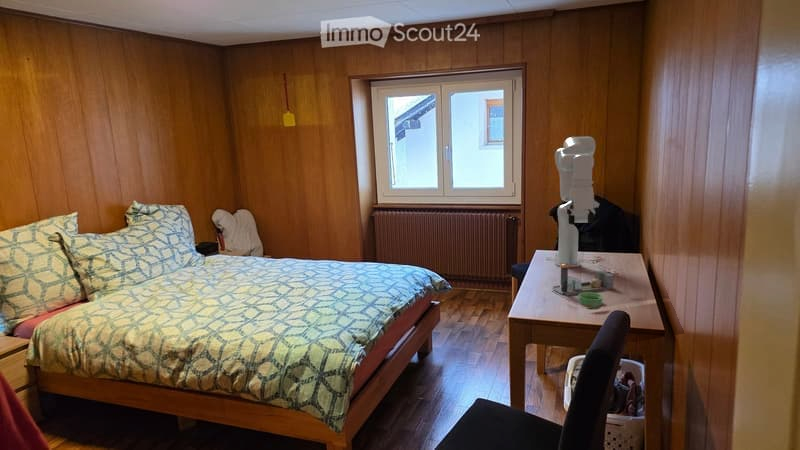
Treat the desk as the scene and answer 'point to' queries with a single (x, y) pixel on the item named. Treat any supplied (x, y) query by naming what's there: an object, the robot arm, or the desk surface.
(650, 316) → the desk surface
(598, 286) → the beige rounded dome
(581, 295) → the ramekin
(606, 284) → the press frame
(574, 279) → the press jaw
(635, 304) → the desk surface
